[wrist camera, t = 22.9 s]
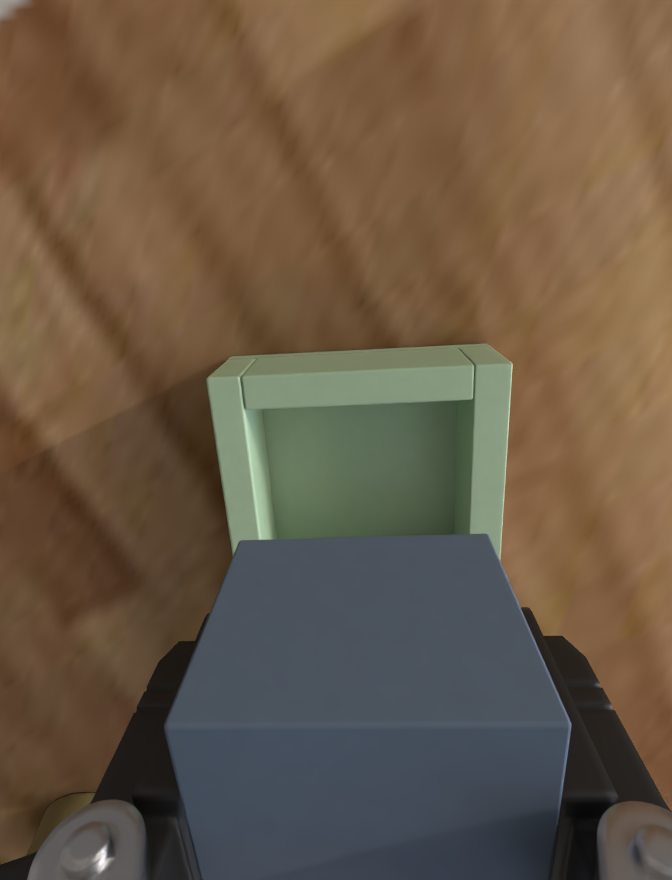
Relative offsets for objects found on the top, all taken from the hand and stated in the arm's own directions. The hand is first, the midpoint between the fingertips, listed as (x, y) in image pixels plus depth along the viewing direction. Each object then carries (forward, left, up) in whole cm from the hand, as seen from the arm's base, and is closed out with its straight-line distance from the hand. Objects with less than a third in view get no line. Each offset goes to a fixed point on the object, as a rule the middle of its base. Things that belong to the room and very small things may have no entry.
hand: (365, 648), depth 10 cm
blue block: (0, 0, 0) cm, 0 cm away
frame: (0, -4, -9) cm, 10 cm away
